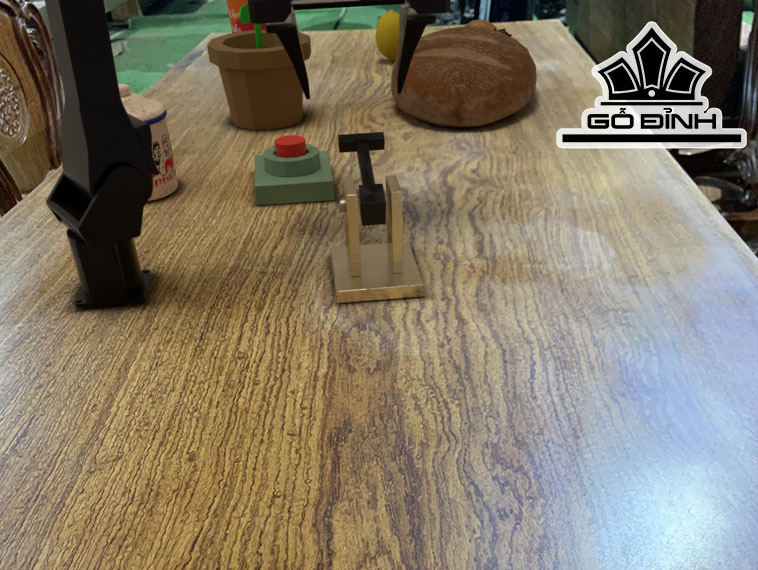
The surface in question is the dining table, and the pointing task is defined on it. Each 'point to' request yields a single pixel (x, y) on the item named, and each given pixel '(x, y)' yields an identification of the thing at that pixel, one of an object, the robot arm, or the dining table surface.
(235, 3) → the paper cup
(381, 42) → the lemon
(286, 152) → the button
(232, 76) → the flowerpot
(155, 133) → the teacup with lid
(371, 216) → the press lever
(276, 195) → the control block
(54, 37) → the robot arm
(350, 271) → the lever base
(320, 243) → the dining table surface
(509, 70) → the bread
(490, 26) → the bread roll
